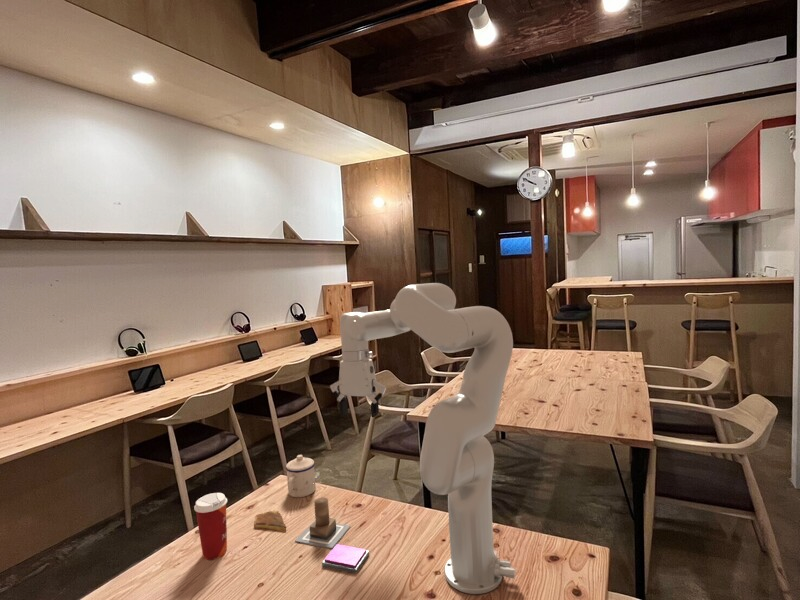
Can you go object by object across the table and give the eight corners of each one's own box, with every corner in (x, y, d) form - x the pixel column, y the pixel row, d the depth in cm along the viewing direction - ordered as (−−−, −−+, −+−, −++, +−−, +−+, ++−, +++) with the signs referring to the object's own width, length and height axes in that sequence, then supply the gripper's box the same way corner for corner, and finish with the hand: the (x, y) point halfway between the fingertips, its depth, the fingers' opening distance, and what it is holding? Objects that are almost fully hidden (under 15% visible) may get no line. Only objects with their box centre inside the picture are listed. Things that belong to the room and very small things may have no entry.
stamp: (336, 529, 117) (334, 497, 116) (326, 540, 112) (324, 506, 112) (320, 526, 119) (317, 495, 118) (310, 536, 114) (307, 504, 114)
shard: (287, 532, 118) (286, 526, 118) (257, 541, 115) (257, 535, 114) (278, 514, 128) (278, 508, 128) (251, 522, 124) (251, 516, 124)
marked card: (350, 526, 118) (350, 525, 118) (332, 548, 109) (332, 547, 109) (315, 520, 122) (315, 519, 122) (295, 541, 113) (294, 540, 113)
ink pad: (369, 554, 106) (368, 548, 106) (356, 573, 99) (355, 567, 99) (336, 548, 109) (336, 542, 109) (322, 566, 102) (321, 560, 102)
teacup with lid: (296, 483, 146) (293, 449, 145) (321, 485, 143) (318, 450, 143) (277, 501, 134) (274, 465, 133) (304, 504, 132) (301, 466, 131)
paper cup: (236, 551, 110) (232, 497, 110) (206, 567, 105) (201, 510, 104) (222, 539, 116) (218, 488, 115) (193, 554, 110) (188, 500, 109)
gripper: (388, 353, 124) (392, 412, 125) (335, 353, 130) (339, 409, 131) (378, 358, 117) (381, 421, 118) (322, 357, 123) (326, 417, 124)
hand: (359, 414), depth 124 cm, fingers open, 9 cm apart
